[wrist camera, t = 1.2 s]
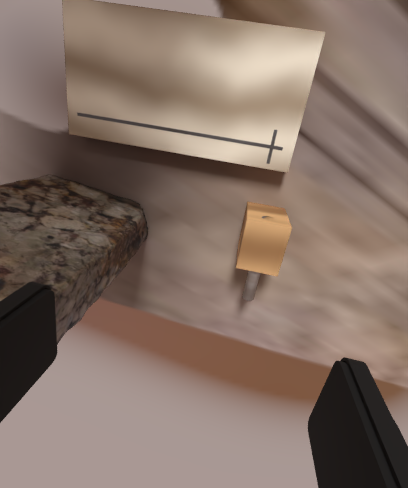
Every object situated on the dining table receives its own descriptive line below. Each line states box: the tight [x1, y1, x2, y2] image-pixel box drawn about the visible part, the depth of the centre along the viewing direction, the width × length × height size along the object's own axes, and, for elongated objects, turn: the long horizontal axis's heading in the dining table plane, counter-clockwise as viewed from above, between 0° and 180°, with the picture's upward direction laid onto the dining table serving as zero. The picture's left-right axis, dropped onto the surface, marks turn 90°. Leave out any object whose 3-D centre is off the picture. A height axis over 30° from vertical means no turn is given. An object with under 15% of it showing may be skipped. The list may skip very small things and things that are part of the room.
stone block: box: [0, 175, 148, 344], centre depth 25 cm, size 13×7×20 cm, turn 78°
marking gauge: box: [236, 202, 292, 301], centre depth 30 cm, size 9×4×6 cm, turn 171°
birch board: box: [62, 0, 325, 173], centre depth 26 cm, size 11×22×2 cm, turn 81°
